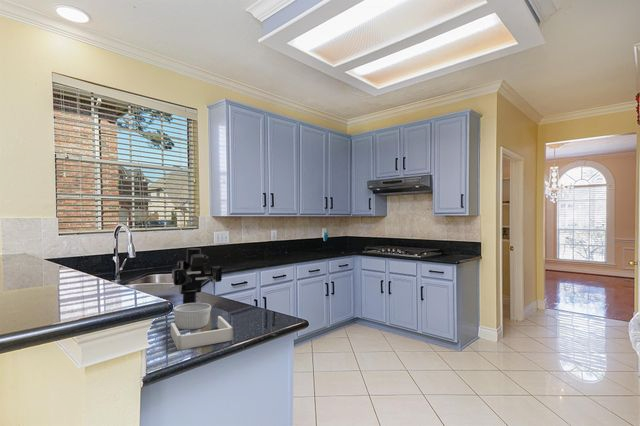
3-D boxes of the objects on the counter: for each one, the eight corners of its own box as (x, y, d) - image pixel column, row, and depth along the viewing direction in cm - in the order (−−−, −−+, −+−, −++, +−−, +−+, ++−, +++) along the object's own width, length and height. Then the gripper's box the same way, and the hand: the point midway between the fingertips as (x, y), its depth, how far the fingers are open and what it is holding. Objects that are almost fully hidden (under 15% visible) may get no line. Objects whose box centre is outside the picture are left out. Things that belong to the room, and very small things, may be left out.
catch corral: (170, 334, 114) (170, 322, 114) (220, 326, 123) (220, 315, 123) (177, 350, 101) (178, 337, 101) (232, 340, 110) (233, 328, 110)
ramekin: (206, 318, 133) (206, 300, 133) (214, 327, 122) (215, 308, 122) (170, 323, 126) (171, 304, 126) (176, 333, 115) (176, 313, 115)
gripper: (171, 255, 137) (177, 259, 124) (217, 253, 147) (227, 257, 134) (170, 281, 137) (176, 289, 124) (216, 278, 147) (226, 284, 134)
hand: (202, 278), depth 129 cm, fingers open, 9 cm apart
